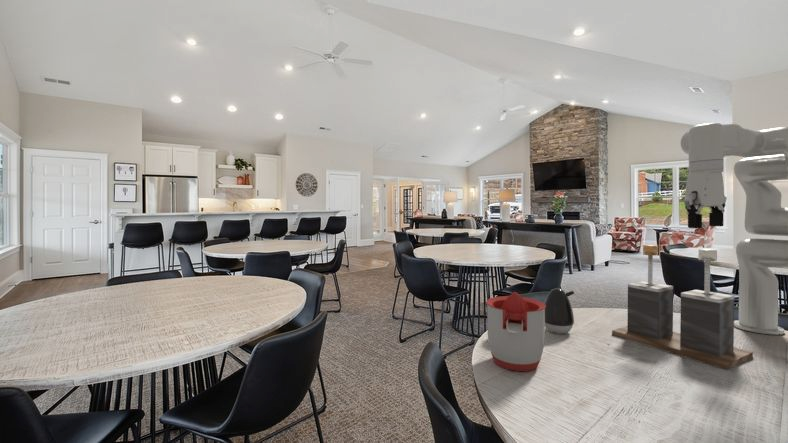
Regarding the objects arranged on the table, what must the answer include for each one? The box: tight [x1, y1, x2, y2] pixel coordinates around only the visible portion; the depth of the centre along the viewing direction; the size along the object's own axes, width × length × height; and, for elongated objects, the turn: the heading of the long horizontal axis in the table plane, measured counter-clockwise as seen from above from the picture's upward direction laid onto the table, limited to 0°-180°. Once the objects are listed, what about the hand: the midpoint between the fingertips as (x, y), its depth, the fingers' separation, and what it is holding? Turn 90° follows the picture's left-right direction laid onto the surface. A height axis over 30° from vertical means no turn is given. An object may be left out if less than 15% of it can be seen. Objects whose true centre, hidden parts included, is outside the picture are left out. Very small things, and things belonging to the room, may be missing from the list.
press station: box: [611, 280, 754, 370], centre depth 109 cm, size 16×30×18 cm, turn 27°
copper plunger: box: [642, 244, 659, 286], centre depth 115 cm, size 7×7×20 cm
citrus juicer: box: [485, 291, 546, 372], centre depth 97 cm, size 16×17×20 cm
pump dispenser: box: [543, 287, 575, 335], centre depth 123 cm, size 10×10×15 cm
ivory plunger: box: [697, 248, 718, 295], centre depth 102 cm, size 7×7×20 cm
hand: (705, 227), depth 102 cm, fingers open, 9 cm apart
